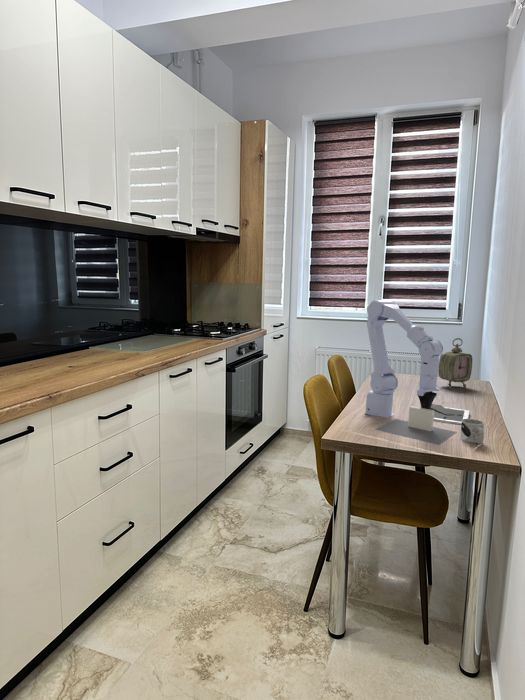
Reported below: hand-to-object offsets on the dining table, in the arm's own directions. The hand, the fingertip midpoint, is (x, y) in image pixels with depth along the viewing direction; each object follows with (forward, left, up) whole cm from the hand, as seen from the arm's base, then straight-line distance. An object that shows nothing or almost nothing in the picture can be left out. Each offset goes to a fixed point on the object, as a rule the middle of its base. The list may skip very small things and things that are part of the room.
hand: (425, 412), depth 169 cm
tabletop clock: (-15, +81, -6) cm, 83 cm away
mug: (+18, -5, -6) cm, 20 cm away
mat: (0, -8, -6) cm, 10 cm away
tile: (0, -4, -5) cm, 6 cm away
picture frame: (+1, +21, -6) cm, 21 cm away
